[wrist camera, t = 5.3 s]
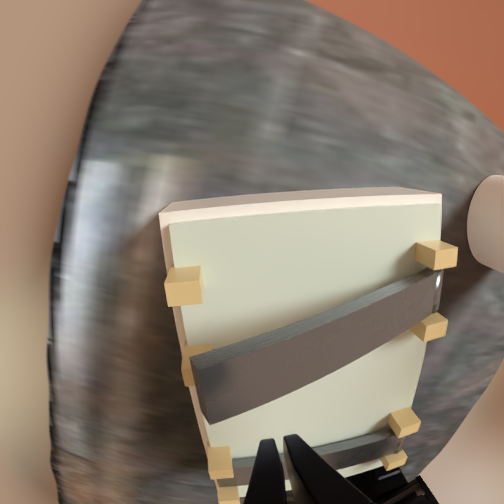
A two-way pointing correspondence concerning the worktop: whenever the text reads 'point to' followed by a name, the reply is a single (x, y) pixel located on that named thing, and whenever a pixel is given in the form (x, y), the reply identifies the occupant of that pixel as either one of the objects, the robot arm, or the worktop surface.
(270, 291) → the storage box
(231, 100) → the worktop surface
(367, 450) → the strap
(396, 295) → the strap
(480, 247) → the cup
